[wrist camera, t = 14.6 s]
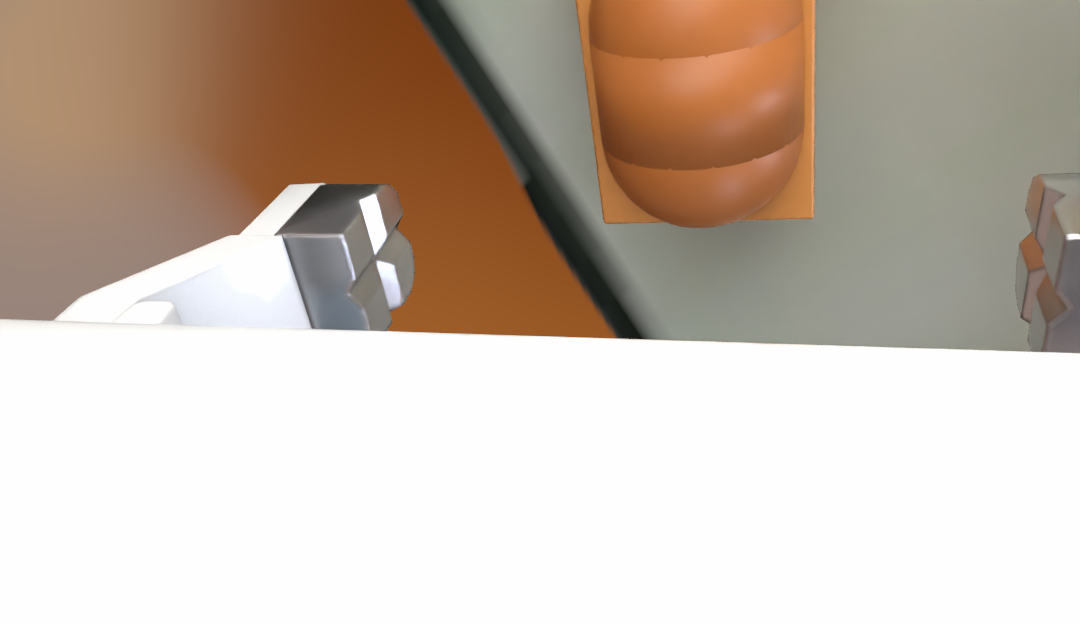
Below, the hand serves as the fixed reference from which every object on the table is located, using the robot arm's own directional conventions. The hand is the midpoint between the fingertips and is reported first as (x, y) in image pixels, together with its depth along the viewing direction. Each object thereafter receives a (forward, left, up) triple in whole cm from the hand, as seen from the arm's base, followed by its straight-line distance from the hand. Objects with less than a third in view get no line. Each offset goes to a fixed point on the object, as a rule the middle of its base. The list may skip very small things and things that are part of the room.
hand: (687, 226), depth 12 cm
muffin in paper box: (+1, -1, -17) cm, 17 cm away
